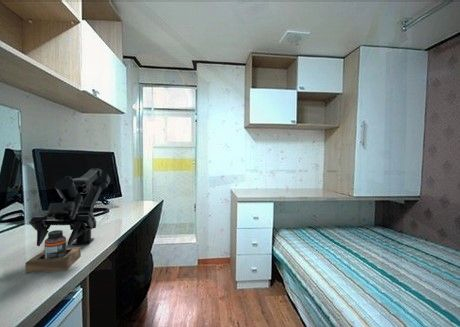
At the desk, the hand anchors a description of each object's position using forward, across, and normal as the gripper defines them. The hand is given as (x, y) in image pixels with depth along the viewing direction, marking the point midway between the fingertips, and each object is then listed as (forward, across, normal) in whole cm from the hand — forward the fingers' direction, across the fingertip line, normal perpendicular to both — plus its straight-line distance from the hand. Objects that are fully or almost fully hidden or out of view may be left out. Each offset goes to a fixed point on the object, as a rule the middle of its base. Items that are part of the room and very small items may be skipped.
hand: (53, 245), depth 78 cm
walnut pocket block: (+4, 0, +6) cm, 7 cm away
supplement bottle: (+4, 0, +6) cm, 7 cm away
